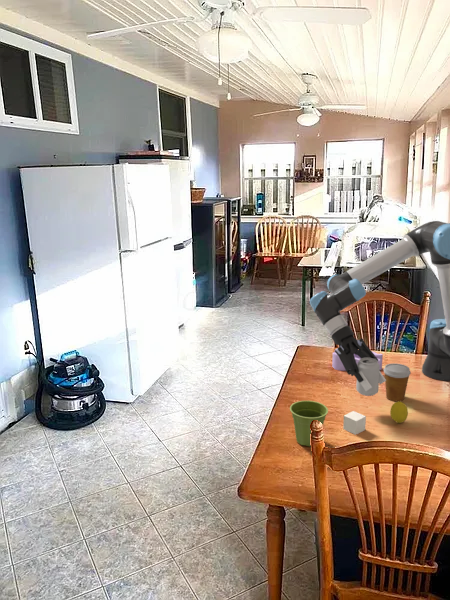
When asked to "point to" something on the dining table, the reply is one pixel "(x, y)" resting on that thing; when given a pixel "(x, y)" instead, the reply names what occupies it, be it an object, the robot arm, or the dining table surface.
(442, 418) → the dining table surface
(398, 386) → the disposable coffee cup
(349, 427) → the cream wooden block
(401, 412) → the lemon
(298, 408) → the plant pot
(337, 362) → the clip
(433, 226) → the robot arm
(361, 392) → the can
